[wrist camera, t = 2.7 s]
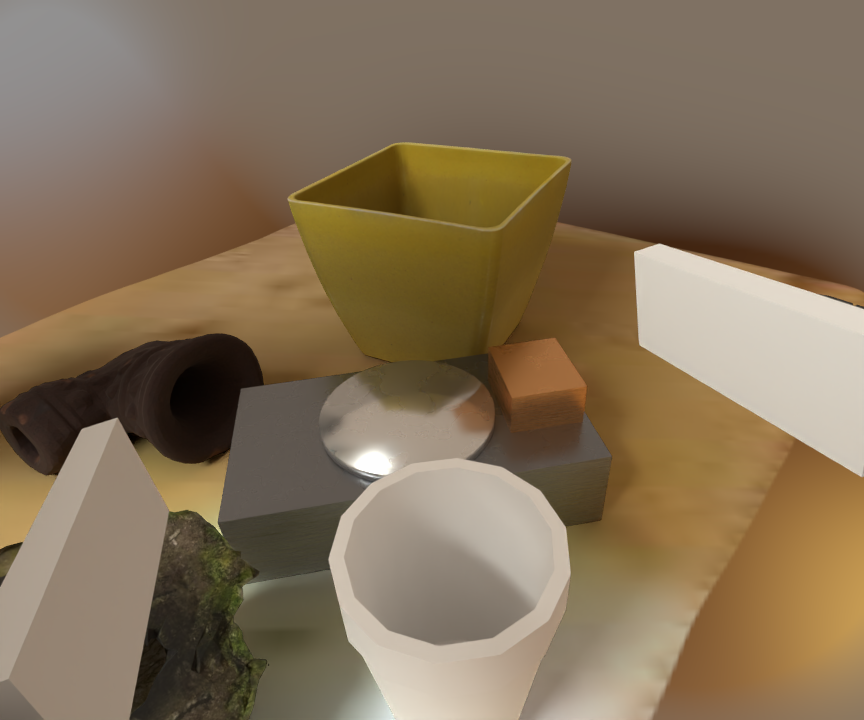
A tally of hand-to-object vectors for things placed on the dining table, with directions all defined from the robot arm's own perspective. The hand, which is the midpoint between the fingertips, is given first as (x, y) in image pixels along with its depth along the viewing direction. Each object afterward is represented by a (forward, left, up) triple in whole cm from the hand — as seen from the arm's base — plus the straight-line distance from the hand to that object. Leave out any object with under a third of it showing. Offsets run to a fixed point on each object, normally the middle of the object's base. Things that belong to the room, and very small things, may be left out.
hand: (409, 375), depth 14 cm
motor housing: (+1, +19, -23) cm, 30 cm away
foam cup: (+1, +3, -24) cm, 24 cm away
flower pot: (+7, +38, -24) cm, 45 cm away
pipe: (-20, +29, -24) cm, 43 cm away
